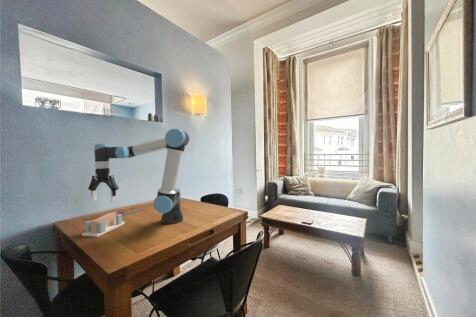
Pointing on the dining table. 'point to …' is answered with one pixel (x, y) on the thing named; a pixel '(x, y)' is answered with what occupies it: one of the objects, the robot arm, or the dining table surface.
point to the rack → (102, 227)
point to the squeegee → (129, 212)
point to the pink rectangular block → (108, 219)
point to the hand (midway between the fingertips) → (103, 200)
